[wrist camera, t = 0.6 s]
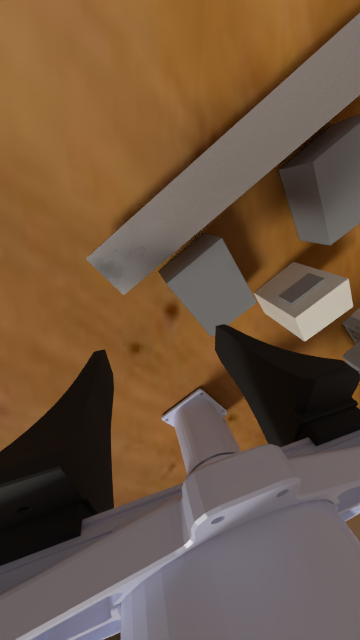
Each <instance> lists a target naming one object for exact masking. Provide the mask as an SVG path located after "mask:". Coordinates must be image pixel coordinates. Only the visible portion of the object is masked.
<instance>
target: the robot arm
mask: <svg viewBox="0 0 360 640" xmlns="http://www.w3.org/2000/svg"><path fill="white" fill-rule="evenodd" d="M215 351H216V353H217V355H218V357H219V359H220V361H221V362H222V364H223V365H224V367H225V368H226V370H227V371H228V373H229V374H230V376H231V377H232V378H233V380H234V381H235V383H236V384H237V385H238V387H239V388H240V390H241V392H242V393H243V395H244V397H245V399H246V400H247V402H248V404H249V406H250V408H251V410H252V412H253V413H254V415H255V417H256V419H257V421H258V423H259V425H260V427H261V429H262V431H263V433H264V436H265V438H266V440H267V442H268V444H265V445H260V446H257V447H254V448H251V449H249V450H246V451H243V452H241V451H240V448H239V446H238V444H237V442H236V440H235V438H234V436H233V434H232V432H231V430H230V428H229V426H228V424H227V422H226V420H225V418H224V416H225V415H226V414H227V410H225V409H224V408H223V407H222V406H221V405H220V404H218V403H217V402H216V401H215V400H214V399H213V398H212V397H210V396H209V395H208V394H207V393H206V392H205V391H203V390H202V389H198V390H196V391H195V392H194V393H192V394H191V395H190V396H188V397H187V398H186V399H184V400H183V401H181V402H180V403H179V404H177V405H176V406H175V407H173V408H172V409H171V410H169V411H168V412H167V413H165V414H164V415H163V416H162V420H163V421H165V422H166V423H168V424H170V425H172V426H173V427H175V429H176V433H177V437H178V441H179V445H180V448H181V452H182V456H183V460H184V464H185V467H186V471H187V476H185V478H186V479H185V481H184V483H182V484H179V485H176V486H173V487H171V488H168V489H165V490H162V491H160V492H157V493H154V494H151V495H149V496H146V497H143V498H141V499H138V500H135V501H132V502H130V503H127V504H124V505H121V506H119V507H116V508H114V501H113V484H112V463H111V417H112V406H113V393H114V382H113V373H112V370H111V367H110V364H109V361H108V357H107V354H106V351H105V350H100V351H95V352H94V353H93V354H92V356H91V357H90V359H89V360H88V362H87V364H86V365H85V367H84V368H83V370H82V371H81V373H80V374H79V375H78V377H77V378H76V380H75V381H74V382H73V384H72V385H71V386H70V388H69V389H68V390H67V391H66V393H65V394H64V395H63V396H62V397H61V398H60V399H59V400H58V402H57V403H56V404H55V405H54V406H53V407H52V408H51V409H50V410H49V411H48V412H47V413H46V414H45V415H44V416H43V417H41V418H40V419H39V420H38V421H37V422H36V423H35V424H34V425H33V426H32V427H31V428H29V429H28V430H27V431H26V432H25V433H23V434H22V435H21V436H20V437H19V438H17V439H16V440H15V441H14V442H12V443H11V444H10V445H9V446H7V447H6V448H5V449H3V450H2V451H1V452H0V640H103V639H105V638H108V637H110V636H113V635H115V634H117V633H120V632H121V640H360V542H359V541H358V539H357V538H356V537H355V535H354V534H353V533H352V531H351V530H350V528H349V527H348V526H347V524H346V523H345V521H347V520H348V519H350V518H352V517H354V516H356V515H358V514H359V513H360V409H358V408H357V407H356V406H357V405H358V403H357V401H355V400H354V399H353V398H352V395H353V393H354V391H355V389H356V388H357V386H358V383H359V381H360V374H359V371H357V370H356V369H354V368H353V367H351V366H350V365H348V364H347V363H346V362H344V361H342V360H336V359H328V358H321V357H315V356H310V355H305V354H300V353H296V352H292V351H288V350H285V349H281V348H278V347H275V346H272V345H269V344H267V343H264V342H262V341H259V340H257V339H255V338H252V337H250V336H248V335H246V334H244V333H242V332H240V331H238V330H236V329H234V328H232V327H230V326H227V325H225V324H222V325H217V326H216V331H215Z"/></svg>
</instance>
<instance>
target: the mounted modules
mask: <svg viewBox="0 0 360 640" xmlns="http://www.w3.org/2000/svg"><path fill="white" fill-rule="evenodd" d="M279 173H280V177H281V180H282V183H283V187H284V190H285V193H286V197H287V200H288V203H289V206H290V210H291V213H292V216H293V220H294V223H295V226H296V230H297V233H298V236H299V239H300V240H301V241H307V242H313V243H319V244H324V245H330V246H331V245H332V244H333V243H334V242H336V241H337V240H338V239H340V238H341V237H342V236H343V235H345V234H346V233H347V232H349V231H350V230H351V229H353V228H354V227H355V226H356V225H358V224H359V223H360V114H359V115H356V116H354V117H351V118H348V119H346V120H343V121H341V122H338V123H336V124H333V125H331V126H330V127H329V128H328V129H327V130H325V131H324V132H323V133H322V134H321V135H320V136H318V137H317V138H316V139H315V140H314V141H312V142H311V143H310V144H309V145H308V146H307V147H305V148H304V149H303V150H302V151H301V152H299V153H298V154H297V155H296V156H295V157H293V158H292V159H291V160H290V161H289V162H288V163H286V164H285V165H284V166H283V167H282V168H280V169H279ZM159 273H160V274H161V276H162V277H163V279H164V281H165V282H166V284H167V285H168V286H169V287H170V288H171V290H172V291H173V292H174V293H175V294H176V296H177V297H178V298H179V299H180V300H181V301H182V303H183V304H184V305H185V306H186V307H187V309H188V310H189V311H190V312H191V313H192V315H193V316H194V317H195V318H196V319H197V321H198V322H199V323H200V324H201V325H202V326H203V328H204V329H205V330H206V331H207V332H208V334H209V335H210V336H211V337H213V336H214V335H215V331H216V326H217V325H222V324H225V325H228V324H229V323H231V322H232V321H233V320H235V319H236V318H237V317H239V316H240V315H241V314H242V313H244V312H245V311H246V310H248V309H249V308H250V307H252V306H253V305H254V304H255V303H257V301H256V299H255V298H254V296H253V294H252V292H251V290H250V288H249V287H248V285H247V283H246V281H245V279H244V277H243V276H242V274H241V272H240V270H239V268H238V266H237V265H236V263H235V261H234V259H233V257H232V255H231V254H230V252H229V250H228V248H227V246H226V244H225V243H224V241H223V239H222V238H221V237H217V236H214V235H210V234H207V233H204V234H202V235H201V236H200V237H199V238H198V239H196V240H195V241H194V242H193V243H192V244H190V245H189V246H188V247H187V248H186V249H185V250H183V251H182V252H181V253H180V254H179V255H177V256H176V257H175V258H174V259H173V260H172V261H170V262H169V263H168V264H167V265H166V266H164V267H163V268H162V269H161V270H160V271H159Z"/></svg>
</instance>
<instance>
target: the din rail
mask: <svg viewBox="0 0 360 640" xmlns="http://www.w3.org/2000/svg"><path fill="white" fill-rule="evenodd" d="M359 95H360V12H359V13H358V14H357V15H356V16H355V17H354V18H353V19H352V20H351V21H349V22H348V23H347V24H346V25H345V26H344V27H343V28H342V29H340V30H339V31H338V32H337V33H336V34H335V35H334V36H333V37H332V38H330V39H329V40H328V41H327V42H326V43H325V44H324V45H323V46H322V47H320V48H319V49H318V50H317V51H316V52H315V53H314V54H313V55H312V56H310V57H309V58H308V59H307V60H306V61H305V62H304V63H303V64H302V65H300V66H299V67H298V68H297V69H296V70H295V71H294V72H293V73H292V74H290V75H289V76H288V77H287V78H286V79H285V80H284V81H283V82H281V83H280V84H279V85H278V86H277V87H276V88H275V89H274V90H273V91H271V92H270V93H269V94H268V95H267V96H266V97H265V98H264V99H263V100H261V101H260V102H259V103H258V104H257V105H256V106H255V107H254V108H253V109H251V110H250V111H249V112H248V113H247V114H246V115H245V116H244V117H243V118H241V119H240V120H239V121H238V122H237V123H236V124H235V125H234V126H233V127H231V128H230V129H229V130H228V131H227V132H226V133H225V134H224V135H222V136H221V137H220V138H219V139H218V140H217V141H216V142H215V143H214V144H212V145H211V146H210V147H209V148H208V149H207V150H206V151H205V152H204V153H202V154H201V155H200V156H199V157H198V158H197V159H196V160H195V161H194V162H192V163H191V164H190V165H189V166H188V167H187V168H186V169H185V170H184V171H182V172H181V173H180V174H179V175H178V176H177V177H176V178H175V179H173V180H172V181H171V182H170V183H169V184H168V185H167V186H166V187H165V188H163V189H162V190H161V191H160V192H159V193H158V194H157V195H156V196H155V197H153V198H152V199H151V200H150V201H149V202H148V203H147V204H146V205H145V206H143V207H142V208H141V209H140V210H139V211H138V212H137V213H136V214H135V215H133V216H132V217H131V218H130V219H129V220H128V221H127V222H126V223H125V224H123V225H122V226H121V227H120V228H119V229H118V230H117V231H116V232H114V233H113V234H112V235H111V236H110V237H109V238H108V239H107V240H106V241H104V242H103V243H102V244H101V245H100V246H99V247H98V248H97V249H96V250H94V251H93V252H92V253H91V254H90V255H89V256H88V257H87V258H86V260H88V261H89V262H90V263H91V264H92V265H93V266H94V267H95V268H96V269H97V270H98V271H99V272H100V273H101V274H102V275H103V276H104V277H105V278H106V279H107V280H108V281H109V282H110V283H112V284H113V285H114V286H115V287H116V288H117V289H118V290H119V291H120V292H121V293H122V294H123V295H125V294H126V293H127V292H128V291H129V290H131V289H132V288H133V287H134V286H135V285H136V284H138V283H139V282H140V281H141V280H142V279H144V278H145V277H146V276H147V275H148V274H149V273H151V272H152V271H153V270H154V269H155V268H156V267H158V266H159V265H160V264H161V263H162V262H164V261H165V260H166V259H167V258H168V257H169V256H171V255H172V254H173V253H174V252H175V251H177V250H178V249H179V248H180V247H181V246H182V245H184V244H185V243H186V242H187V241H188V240H189V239H191V238H192V237H193V236H194V235H195V234H197V233H198V232H199V231H200V230H201V229H202V228H204V227H205V226H206V225H207V224H208V223H210V222H211V221H212V220H213V219H214V218H215V217H217V216H218V215H219V214H220V213H221V212H222V211H224V210H225V209H226V208H227V207H228V206H230V205H231V204H232V203H233V202H234V201H235V200H237V199H238V198H239V197H240V196H241V195H243V194H244V193H245V192H246V191H247V190H248V189H250V188H251V187H252V186H253V185H254V184H255V183H257V182H258V181H259V180H260V179H261V178H263V177H264V176H265V175H266V174H267V173H268V172H270V171H271V170H272V169H273V168H274V167H276V166H277V165H278V164H279V163H280V162H281V161H283V160H284V159H285V158H286V157H287V156H288V155H290V154H291V153H292V152H293V151H294V150H296V149H297V148H298V147H299V146H300V145H301V144H303V143H304V142H305V141H306V140H307V139H309V138H310V137H311V136H312V135H313V134H314V133H316V132H317V131H318V130H319V129H320V128H321V127H323V126H324V125H325V124H326V123H327V122H329V121H330V120H331V119H332V118H333V117H334V116H336V115H337V114H338V113H339V112H340V111H341V110H343V109H344V108H345V107H346V106H347V105H349V104H350V103H351V102H352V101H353V100H354V99H356V98H357V97H358V96H359Z"/></svg>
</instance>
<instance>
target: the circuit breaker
mask: <svg viewBox="0 0 360 640" xmlns="http://www.w3.org/2000/svg"><path fill="white" fill-rule="evenodd" d="M343 325H344V327H345V328H346V330H347V331H348V333H349V334H350V336H351V337H352V339H353V340H354V342H355V343H356V344H355V345H354V346H353V347H352V348H351V349H350V350H348V351H347V352H346V353H345V354H344V355H343V356H342V357H343V358H344V359H345V361H346V362H347V363H348V364H349V365H350V366H351V367H353V368H354V369H356V370H357V371H359V374H360V308H359V309H357V310H356V311H355V312H354V313H353V314H352V315H351V316H350V317H349V318H347V319H346V320H345V321H344V322H343Z"/></svg>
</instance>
